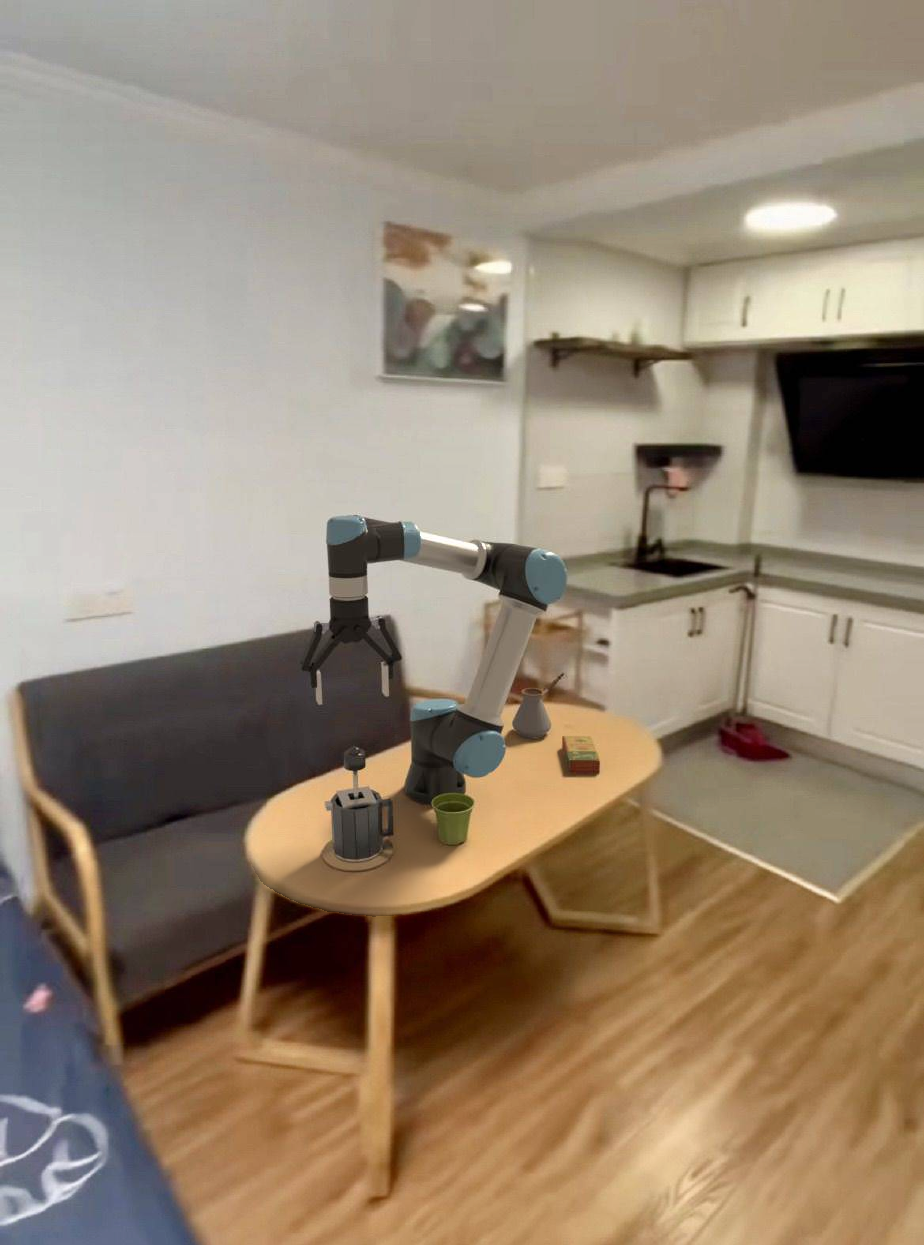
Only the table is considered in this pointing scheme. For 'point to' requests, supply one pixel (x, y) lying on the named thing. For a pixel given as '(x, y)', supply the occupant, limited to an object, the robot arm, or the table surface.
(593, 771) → the carton
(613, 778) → the table surface
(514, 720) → the coffee pot
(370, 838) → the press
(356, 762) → the plunger
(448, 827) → the plant pot
